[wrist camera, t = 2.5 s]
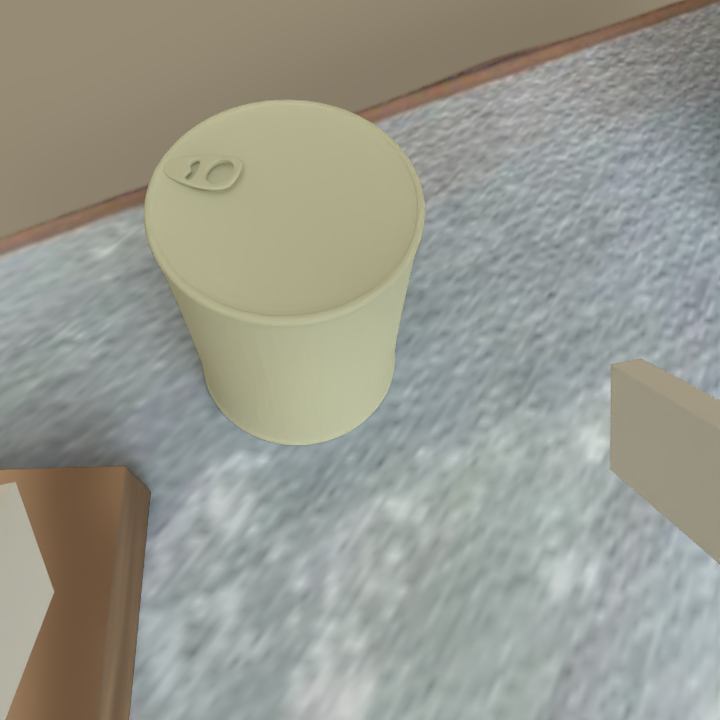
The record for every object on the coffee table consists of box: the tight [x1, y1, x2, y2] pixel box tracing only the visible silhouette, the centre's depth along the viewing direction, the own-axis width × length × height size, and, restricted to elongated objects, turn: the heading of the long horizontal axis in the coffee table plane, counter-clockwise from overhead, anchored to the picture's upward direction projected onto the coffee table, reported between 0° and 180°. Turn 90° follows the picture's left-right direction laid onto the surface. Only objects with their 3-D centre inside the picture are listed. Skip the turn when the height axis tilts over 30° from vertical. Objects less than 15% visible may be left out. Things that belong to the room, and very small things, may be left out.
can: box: [144, 99, 425, 445], centre depth 26 cm, size 9×9×12 cm
